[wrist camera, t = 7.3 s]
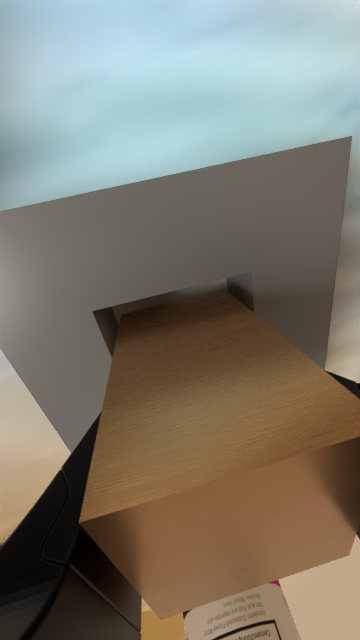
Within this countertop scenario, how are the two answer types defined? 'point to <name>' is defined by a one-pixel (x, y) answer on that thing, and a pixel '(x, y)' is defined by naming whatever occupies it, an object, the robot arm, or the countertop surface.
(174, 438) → the wooden toy block
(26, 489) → the countertop surface
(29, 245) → the charcoal well block
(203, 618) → the supplement can
